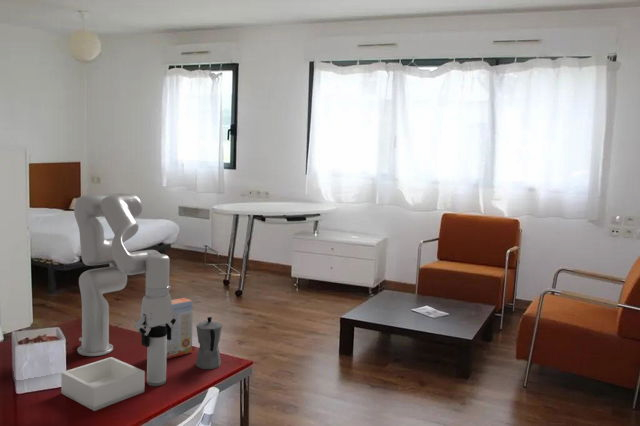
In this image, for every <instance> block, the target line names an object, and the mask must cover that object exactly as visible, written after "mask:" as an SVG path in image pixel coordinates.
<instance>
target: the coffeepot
mask: <svg viewBox="0 0 640 426" xmlns="http://www.w3.org/2000/svg"><path fill="white" fill-rule="evenodd" d="M212 319H213V317H211V316H207V320H203V321H202V322H198V323H197V324H196V334H197V340H198V341H197V342H198V344H199V348H198V351H197V355H196V356H197V357H196V362H195V366H196V367H197V368H199V369H202V370H215V369H217V368H219V367H220V366H221V364H222V360H221V353H220V347H219V343H220V339H221V334H222V329H223V324H222V323H221V322H219V321H212Z"/></svg>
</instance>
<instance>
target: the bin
mask: <svg viewBox="0 0 640 426" xmlns="http://www.w3.org/2000/svg"><path fill="white" fill-rule="evenodd" d="M60 373H61V376H60V377H61V379H60V380H61V383H60V384H61V394H62V395H64V396H66V397H68V398H69V399H71V400H73V401H75V402H77V403H79V404H80V405H82V406H84V407H86V408H88V409H90V410H92V411H93V412H96V411H98V410H101V409H104V408H106V407H108V406H111V405H113V404H114V405H115V404H117V403H119V402H121V401H124V400H126V399H129V398H132V397H135V396H138V395H140V394H143V393H145V388H146V387H145V383H146V382H145V378H146V376H145V375H146V371H145V370H144V369H143V370H142V369H141V368H138V367H136V366H134V365H131V364H130V363H127V362H124V361H122V360H120V359H118V358H115V357H113V356H111V357H107V358H104V359H100V360H97V361H94V362H91V363H87V364H83V365H81V366H77V367H74V368H72V369H71V368H70V369H67V370H64V371H61V372H60Z"/></svg>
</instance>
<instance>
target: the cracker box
mask: <svg viewBox="0 0 640 426" xmlns="http://www.w3.org/2000/svg"><path fill="white" fill-rule="evenodd" d="M171 301H172V311H174V312H176V313H178V316H177V319H176V322H175V323H174V325H173V328H171V340H167V356H166V360H168V359H172V358H176V357H180V356H184V355H188V354H192V353H193V309H194V307H193V304H194V302H193V300H191V299H190V298H187V297H181V298H175V299H171ZM160 326H165V325H160Z"/></svg>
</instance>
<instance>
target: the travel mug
mask: <svg viewBox="0 0 640 426" xmlns="http://www.w3.org/2000/svg"><path fill="white" fill-rule="evenodd" d="M148 335H150V346H149V347H147V348H146V349H147V350H146V353H147V354H146V383H147V385H149V386H151V387H159V386H162V385H165V384H166V383H167V359H166V356H167V327H166V326H156V327H153V328H151V329H150V331H149V333H148Z"/></svg>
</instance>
